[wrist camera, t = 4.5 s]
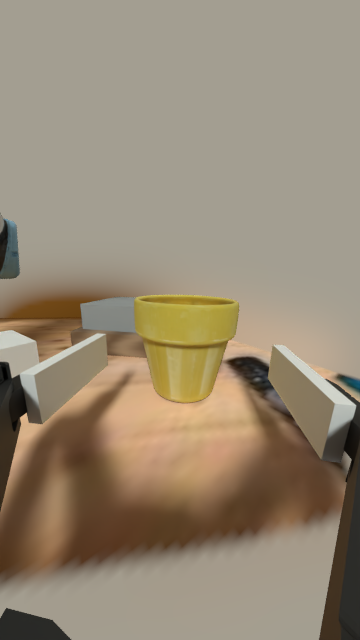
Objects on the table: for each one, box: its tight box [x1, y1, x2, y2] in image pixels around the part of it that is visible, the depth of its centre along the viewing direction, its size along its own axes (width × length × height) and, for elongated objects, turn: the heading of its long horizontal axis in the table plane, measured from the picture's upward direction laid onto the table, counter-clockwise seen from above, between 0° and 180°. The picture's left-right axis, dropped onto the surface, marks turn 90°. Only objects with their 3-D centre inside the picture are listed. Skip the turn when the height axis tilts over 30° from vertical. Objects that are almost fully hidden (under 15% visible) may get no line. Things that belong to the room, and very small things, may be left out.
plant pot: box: [134, 295, 239, 403], centre depth 20 cm, size 10×10×10 cm
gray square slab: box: [81, 297, 136, 333], centre depth 34 cm, size 12×12×4 cm
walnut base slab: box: [70, 327, 147, 358], centre depth 34 cm, size 14×14×4 cm
